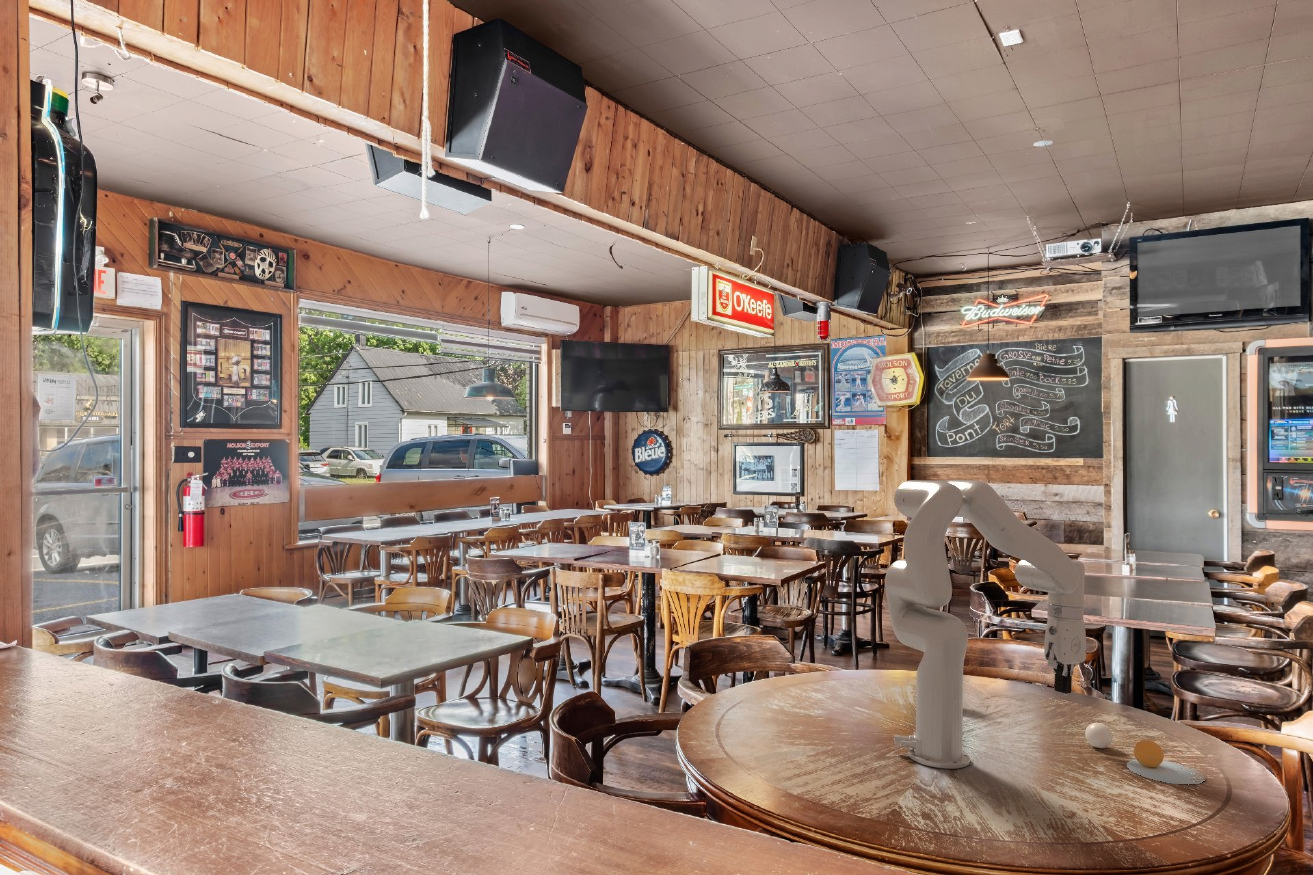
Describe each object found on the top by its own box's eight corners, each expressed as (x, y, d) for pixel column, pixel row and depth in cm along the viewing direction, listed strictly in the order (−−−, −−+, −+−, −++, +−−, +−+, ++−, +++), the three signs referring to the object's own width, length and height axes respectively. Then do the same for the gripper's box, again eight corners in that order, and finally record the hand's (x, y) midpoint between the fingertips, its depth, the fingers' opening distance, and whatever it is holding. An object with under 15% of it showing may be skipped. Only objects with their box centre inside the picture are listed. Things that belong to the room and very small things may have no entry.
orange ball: (1134, 743, 174) (1144, 770, 172) (1161, 737, 173) (1172, 765, 171) (1126, 742, 179) (1136, 768, 177) (1152, 737, 178) (1162, 763, 176)
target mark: (1140, 780, 167) (1140, 779, 167) (1117, 756, 181) (1117, 756, 181) (1217, 788, 164) (1217, 787, 164) (1188, 763, 178) (1188, 762, 178)
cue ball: (1099, 719, 185) (1092, 743, 183) (1121, 730, 185) (1114, 753, 183) (1084, 717, 190) (1077, 740, 189) (1105, 727, 190) (1098, 750, 189)
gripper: (1061, 616, 185) (1059, 699, 184) (1099, 614, 193) (1096, 693, 192) (1031, 611, 191) (1028, 690, 190) (1068, 608, 199) (1066, 685, 198)
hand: (1062, 691), depth 191 cm, fingers closed
